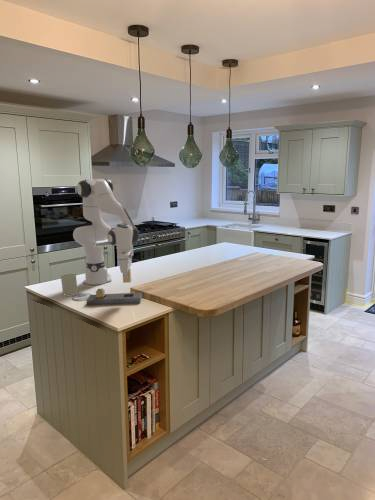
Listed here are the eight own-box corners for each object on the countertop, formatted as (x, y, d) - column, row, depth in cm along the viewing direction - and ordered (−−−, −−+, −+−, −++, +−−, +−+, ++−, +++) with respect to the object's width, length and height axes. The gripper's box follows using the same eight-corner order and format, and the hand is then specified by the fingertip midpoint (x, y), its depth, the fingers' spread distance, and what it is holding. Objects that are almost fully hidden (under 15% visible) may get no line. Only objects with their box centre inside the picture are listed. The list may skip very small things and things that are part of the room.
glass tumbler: (74, 290, 247) (72, 272, 244) (80, 293, 240) (78, 274, 237) (60, 293, 241) (58, 275, 238) (66, 296, 234) (64, 277, 231)
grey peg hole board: (91, 299, 227) (90, 294, 226) (142, 297, 227) (141, 292, 226) (87, 305, 217) (86, 300, 216) (140, 303, 217) (139, 297, 217)
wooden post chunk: (124, 280, 221) (123, 267, 220) (131, 280, 221) (130, 267, 220) (123, 282, 217) (122, 269, 216) (130, 282, 217) (129, 269, 216)
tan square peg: (98, 301, 224) (97, 288, 222) (105, 300, 224) (104, 288, 222) (97, 303, 220) (95, 290, 218) (104, 303, 220) (102, 290, 218)
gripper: (122, 249, 226) (124, 272, 229) (116, 256, 206) (118, 281, 209) (133, 248, 226) (134, 271, 229) (128, 256, 206) (130, 281, 209)
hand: (127, 276), depth 219 cm, fingers closed on wooden post chunk, 4 cm apart
